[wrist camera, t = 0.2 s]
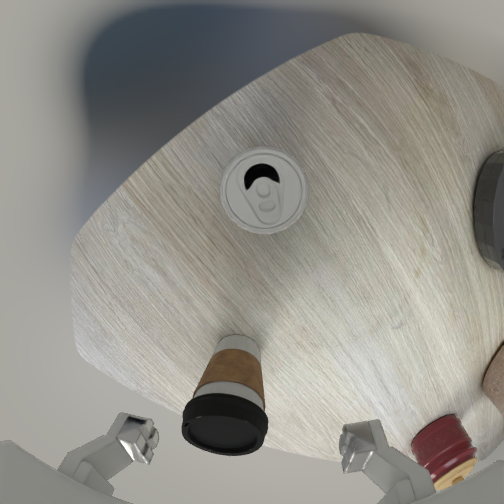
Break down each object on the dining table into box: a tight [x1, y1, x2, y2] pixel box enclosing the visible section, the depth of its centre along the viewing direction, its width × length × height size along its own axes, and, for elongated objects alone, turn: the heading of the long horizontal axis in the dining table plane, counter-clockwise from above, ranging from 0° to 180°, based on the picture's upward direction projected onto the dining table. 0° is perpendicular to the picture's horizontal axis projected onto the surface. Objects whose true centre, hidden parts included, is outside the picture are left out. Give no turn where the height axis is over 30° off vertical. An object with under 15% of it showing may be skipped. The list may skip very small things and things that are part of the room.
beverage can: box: [219, 146, 309, 234], centre depth 23 cm, size 6×6×12 cm
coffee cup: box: [182, 335, 268, 456], centre depth 28 cm, size 8×8×15 cm
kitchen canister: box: [411, 415, 478, 490], centre depth 31 cm, size 13×13×18 cm
